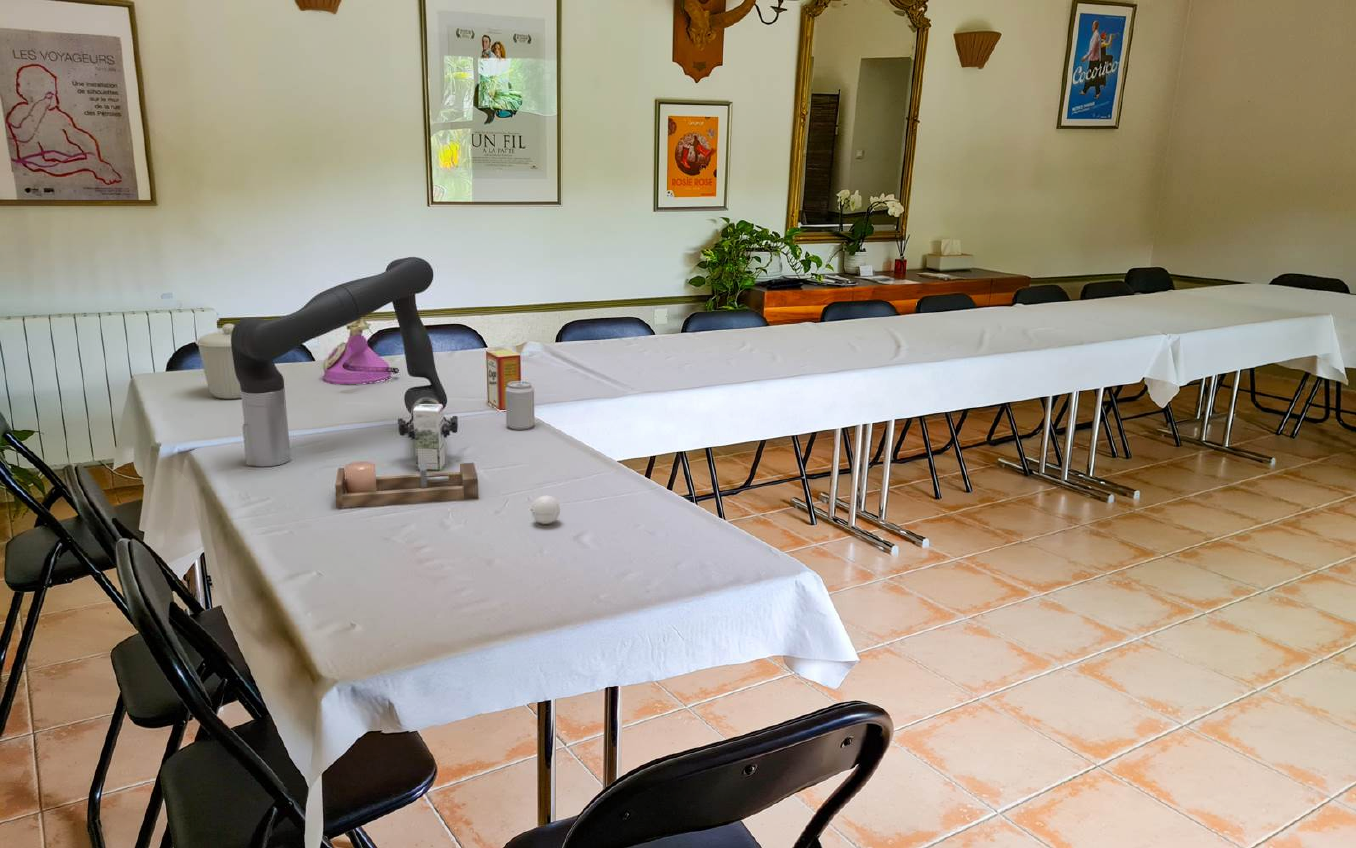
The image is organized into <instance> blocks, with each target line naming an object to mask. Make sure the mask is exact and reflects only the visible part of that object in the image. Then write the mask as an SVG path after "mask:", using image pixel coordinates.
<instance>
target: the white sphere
mask: <svg viewBox="0 0 1356 848" xmlns="http://www.w3.org/2000/svg"><path fill="white" fill-rule="evenodd" d="M530 511H531V517H533V519H534V520H535V521H537V522H538V523H539V524H543V525H549V524H553V523H554V522H555V521H556V520H558V518H559V516H560V512H561V506H560V504H559V501H558V500H557V499H556V498H555V497H554V496H550V495H541V496H539V497H537V498H536V499H535V500H534V501H533V503H532V505H531V509H530Z"/></svg>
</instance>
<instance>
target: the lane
mask: <svg viewBox="0 0 1356 848" xmlns="http://www.w3.org/2000/svg"><path fill="white" fill-rule="evenodd" d="M459 469H460V470H459V471H452V472H451V471H449V472H436V473H435V472H434V473H426V475H427V477H443V476H449V481H438V482H427V488H424V489H421V477H420V473H418V474H404V475H388V476H376V486H377V492H364V493H349V494H347V490H346V476H345V467H338V469H337V475H336V480H335V485H334V487H335V501H336V509H337V508H338V509H345V508H344V507H352V508H358V507H357V506H366V507H379V506H392V505H394V506H395V505H406V504H421V503H435V502H447V501H448V502H449V501H462V500H463V501H464V500H476V499H477V500H478V499H479V479H478V473H477V470H476V466H475V463H474V462H465V463H464V462H461V463H459ZM342 507H343V508H342Z"/></svg>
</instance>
